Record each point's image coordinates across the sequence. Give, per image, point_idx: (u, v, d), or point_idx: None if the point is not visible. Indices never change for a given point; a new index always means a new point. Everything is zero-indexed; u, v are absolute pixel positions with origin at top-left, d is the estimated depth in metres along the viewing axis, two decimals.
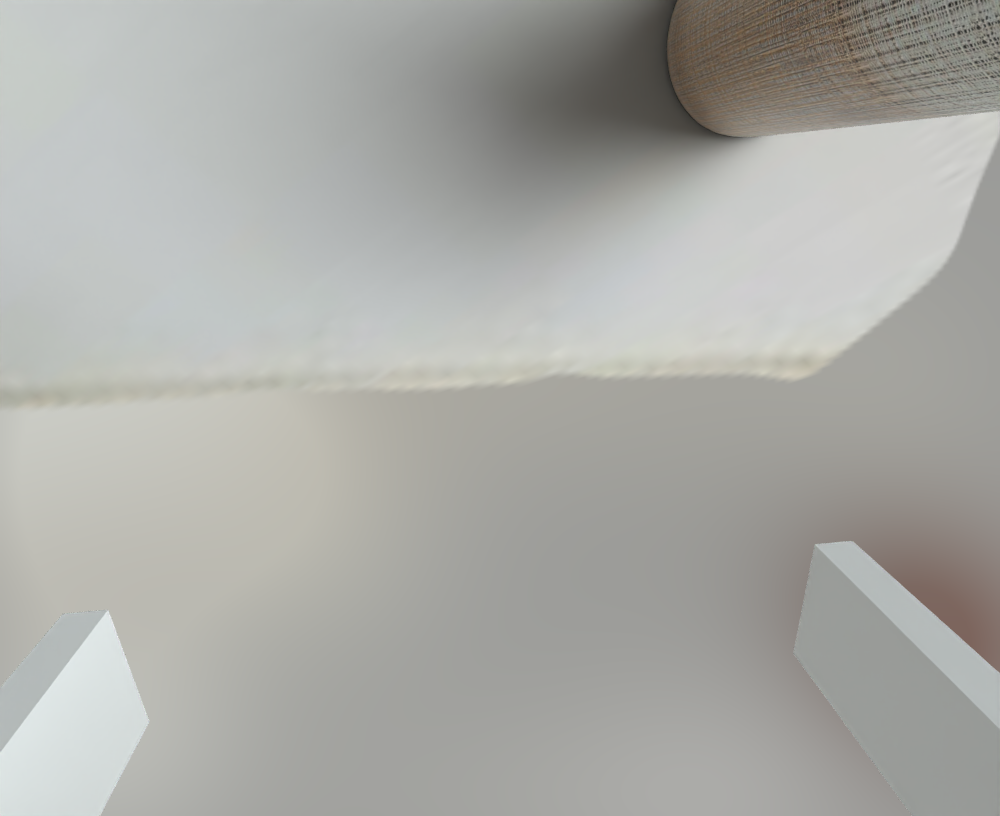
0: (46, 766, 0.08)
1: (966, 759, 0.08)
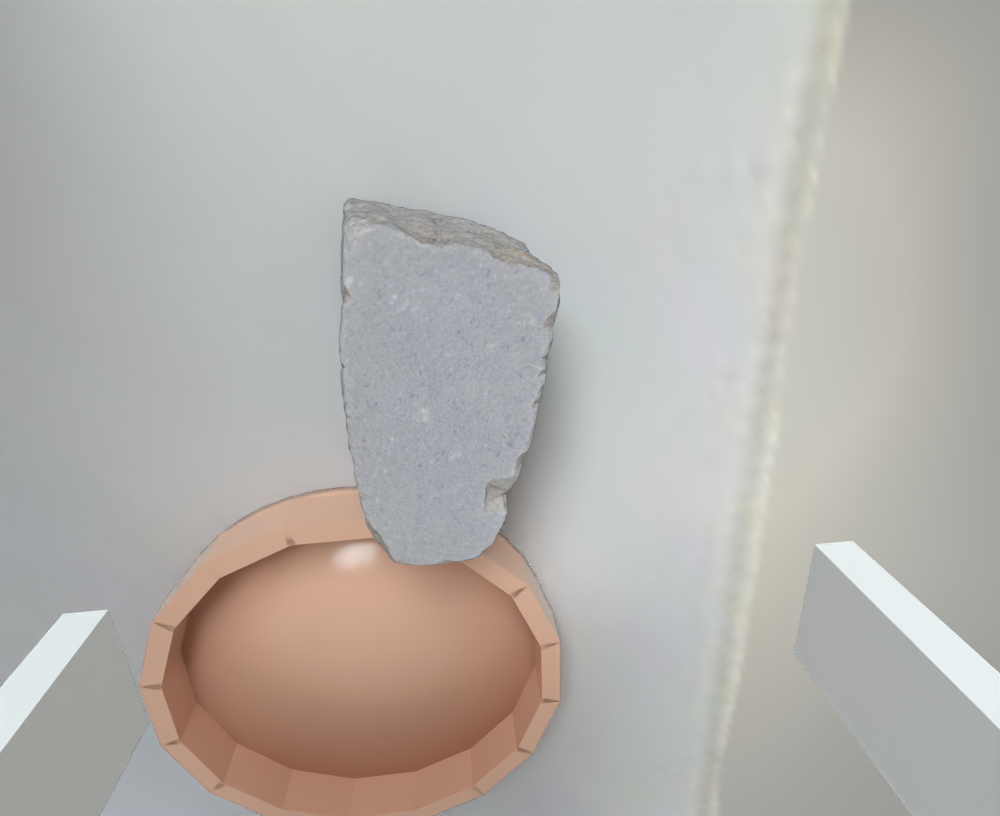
0: (46, 766, 0.08)
1: (966, 759, 0.08)
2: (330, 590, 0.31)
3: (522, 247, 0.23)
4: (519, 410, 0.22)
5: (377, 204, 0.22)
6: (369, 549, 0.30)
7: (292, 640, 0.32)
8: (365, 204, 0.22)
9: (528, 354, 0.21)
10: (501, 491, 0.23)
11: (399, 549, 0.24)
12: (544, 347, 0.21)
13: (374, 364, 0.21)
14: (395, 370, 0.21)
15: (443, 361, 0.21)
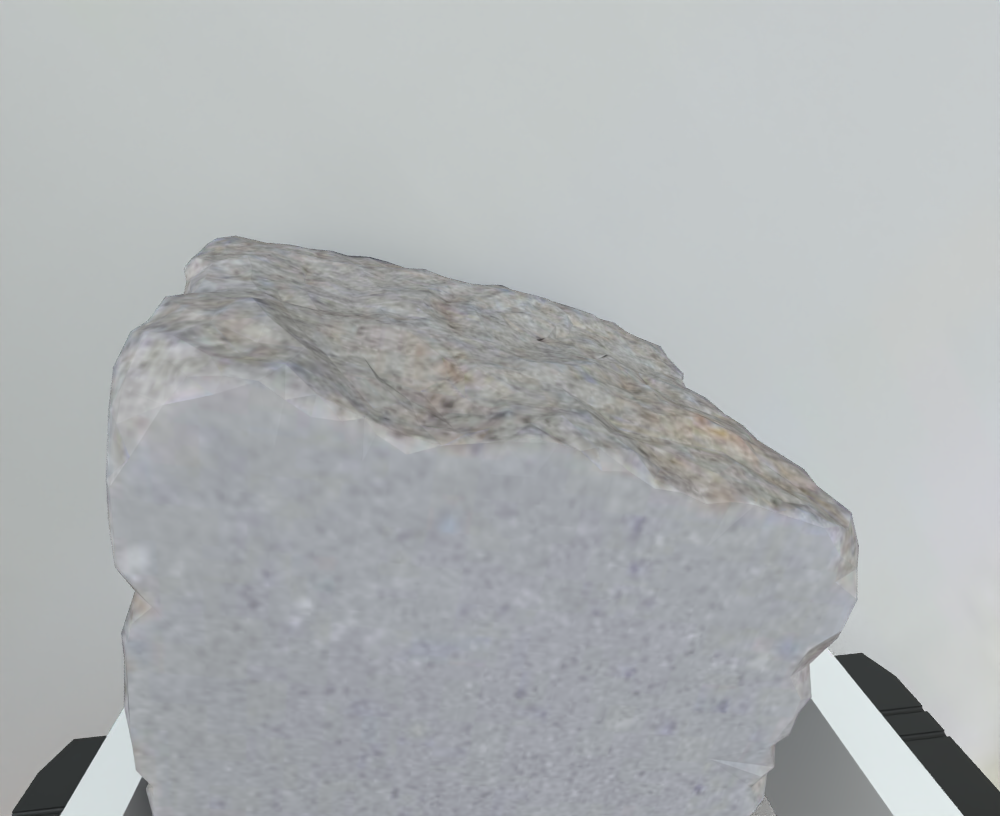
0: None
1: None
2: None
3: (669, 368, 0.09)
4: None
5: (291, 257, 0.08)
6: None
7: None
8: (247, 261, 0.07)
9: (731, 741, 0.07)
10: None
11: None
12: (782, 722, 0.07)
13: (248, 778, 0.06)
14: (314, 789, 0.07)
15: (469, 765, 0.07)
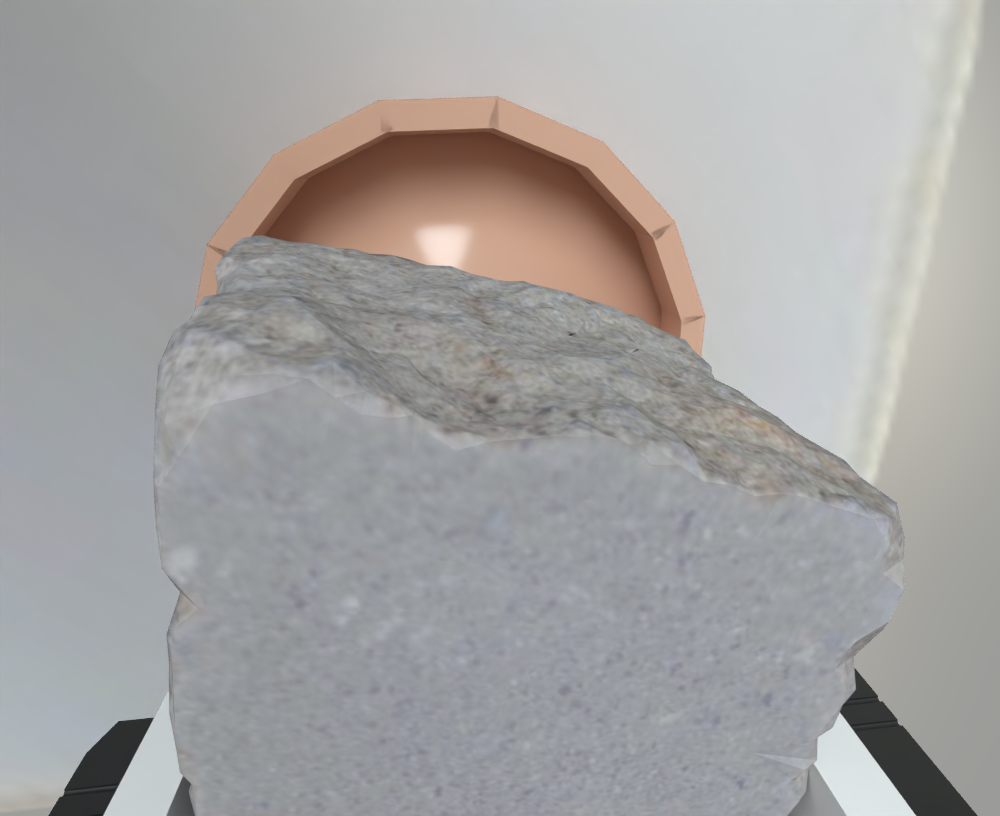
0: None
1: None
2: (420, 254, 0.25)
3: (698, 362, 0.09)
4: None
5: (319, 255, 0.08)
6: (471, 194, 0.24)
7: None
8: (278, 260, 0.07)
9: (775, 734, 0.07)
10: None
11: None
12: (826, 714, 0.07)
13: (291, 778, 0.06)
14: (358, 788, 0.07)
15: (512, 763, 0.07)
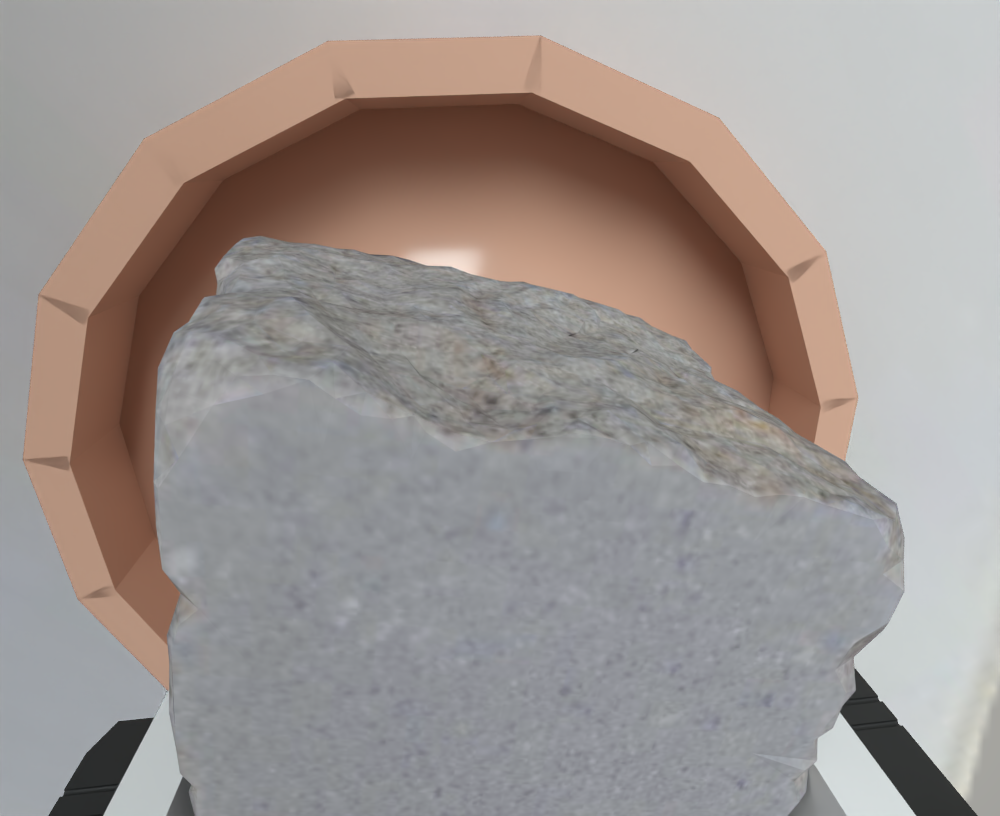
0: None
1: None
2: None
3: (698, 362, 0.09)
4: None
5: (319, 256, 0.08)
6: (489, 205, 0.15)
7: None
8: (278, 260, 0.07)
9: (775, 735, 0.07)
10: None
11: None
12: (827, 715, 0.07)
13: (291, 779, 0.06)
14: (358, 790, 0.07)
15: (512, 763, 0.07)
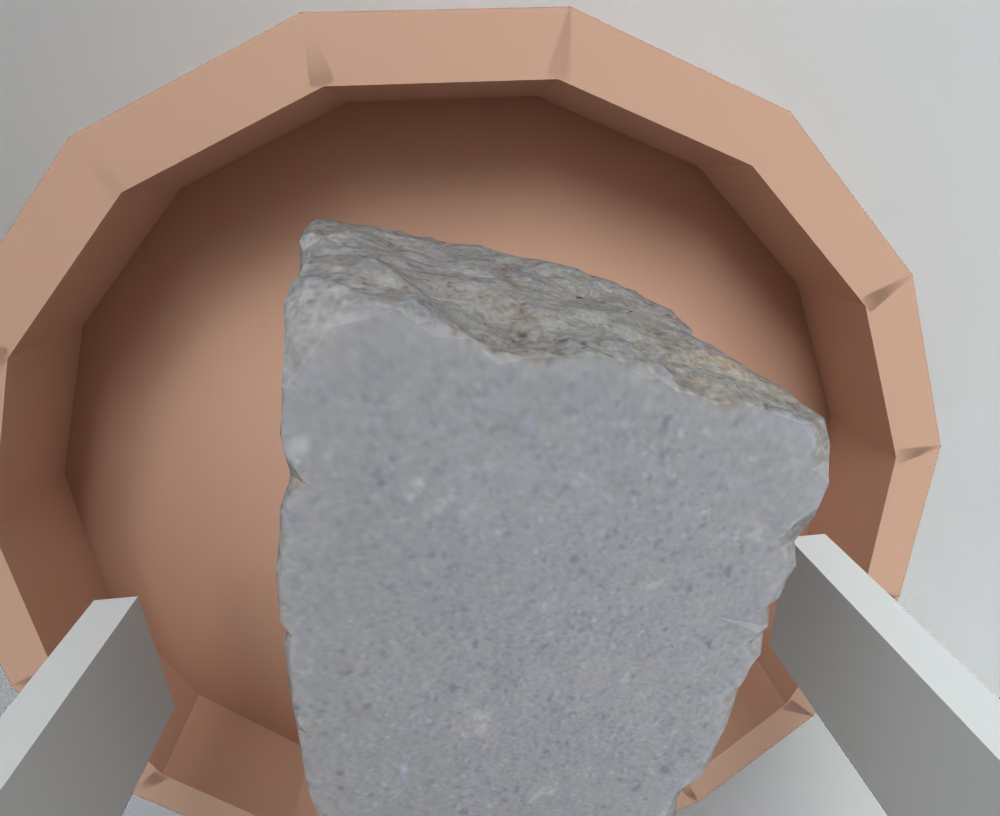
0: (84, 745, 0.09)
1: (924, 743, 0.08)
2: None
3: (681, 325, 0.11)
4: (695, 709, 0.10)
5: (377, 233, 0.10)
6: (500, 218, 0.13)
7: None
8: (349, 235, 0.09)
9: (735, 601, 0.09)
10: None
11: None
12: (774, 586, 0.09)
13: (364, 629, 0.08)
14: (414, 639, 0.09)
15: (532, 620, 0.09)
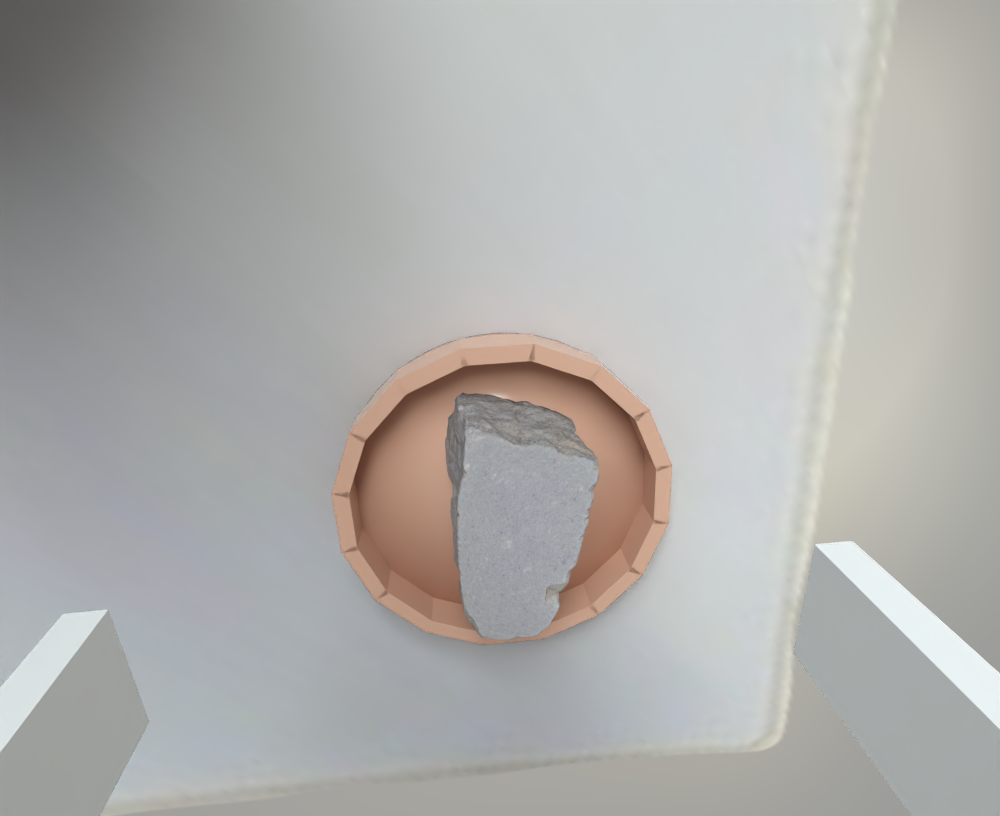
0: (46, 766, 0.08)
1: (966, 759, 0.08)
2: None
3: (571, 427, 0.35)
4: (570, 541, 0.33)
5: (477, 402, 0.34)
6: (514, 387, 0.36)
7: (445, 470, 0.38)
8: (472, 406, 0.33)
9: (578, 508, 0.32)
10: (556, 591, 0.35)
11: (486, 629, 0.35)
12: (588, 503, 0.32)
13: (478, 514, 0.32)
14: (491, 517, 0.32)
15: (523, 512, 0.32)
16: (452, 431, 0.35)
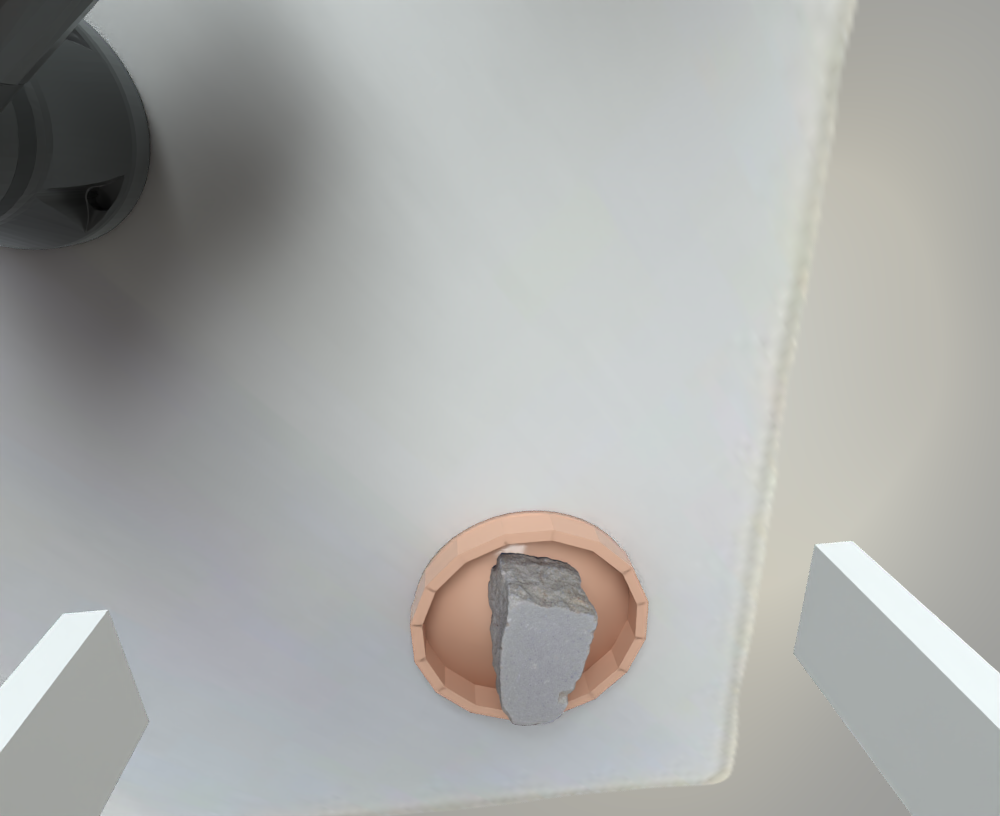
0: (46, 766, 0.08)
1: (966, 759, 0.08)
2: None
3: (578, 580, 0.50)
4: (577, 664, 0.48)
5: (514, 566, 0.49)
6: (538, 547, 0.52)
7: (487, 601, 0.53)
8: (510, 571, 0.48)
9: (582, 644, 0.48)
10: (565, 694, 0.50)
11: (516, 718, 0.50)
12: (589, 641, 0.48)
13: (515, 648, 0.47)
14: (524, 650, 0.47)
15: (545, 647, 0.47)
16: (495, 582, 0.50)
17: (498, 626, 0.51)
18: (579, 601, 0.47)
